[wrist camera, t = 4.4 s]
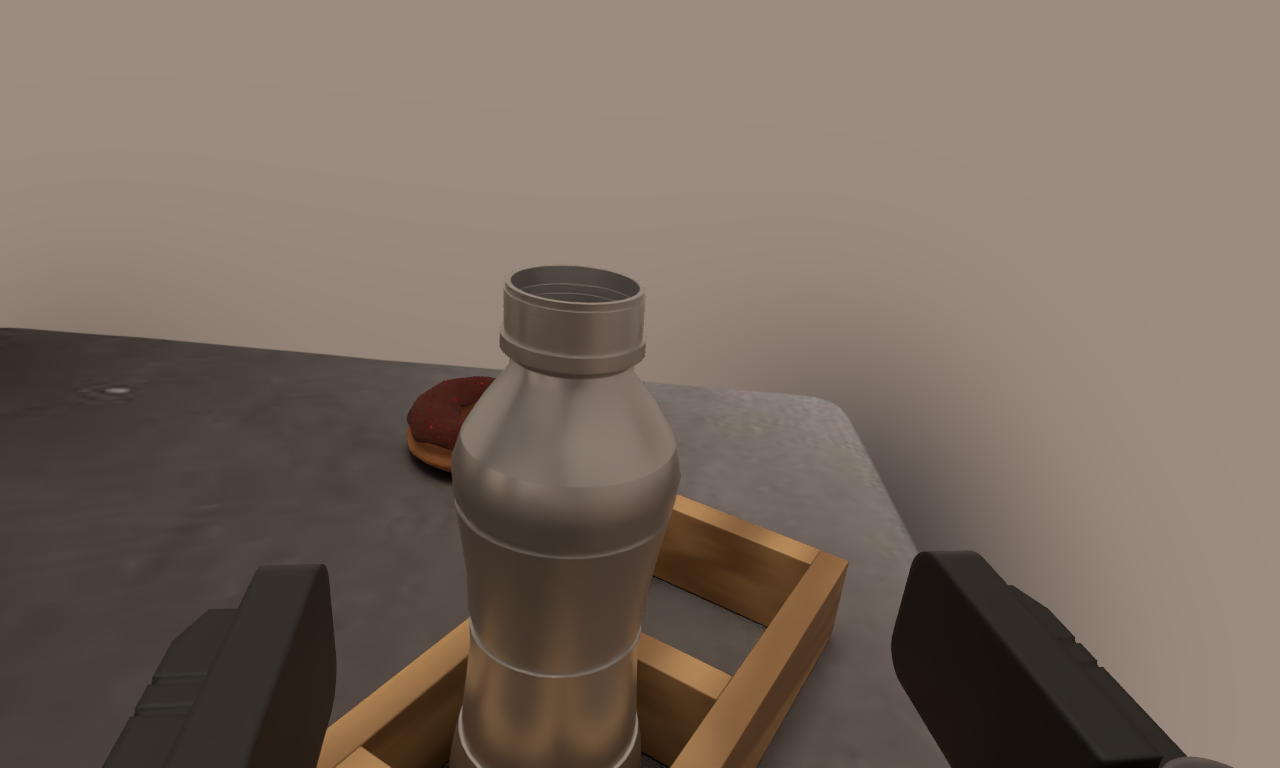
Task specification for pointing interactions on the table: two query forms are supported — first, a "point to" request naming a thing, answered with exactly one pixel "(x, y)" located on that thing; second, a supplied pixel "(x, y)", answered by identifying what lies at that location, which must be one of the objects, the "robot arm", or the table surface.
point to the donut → (442, 418)
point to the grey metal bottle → (561, 526)
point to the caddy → (646, 659)
